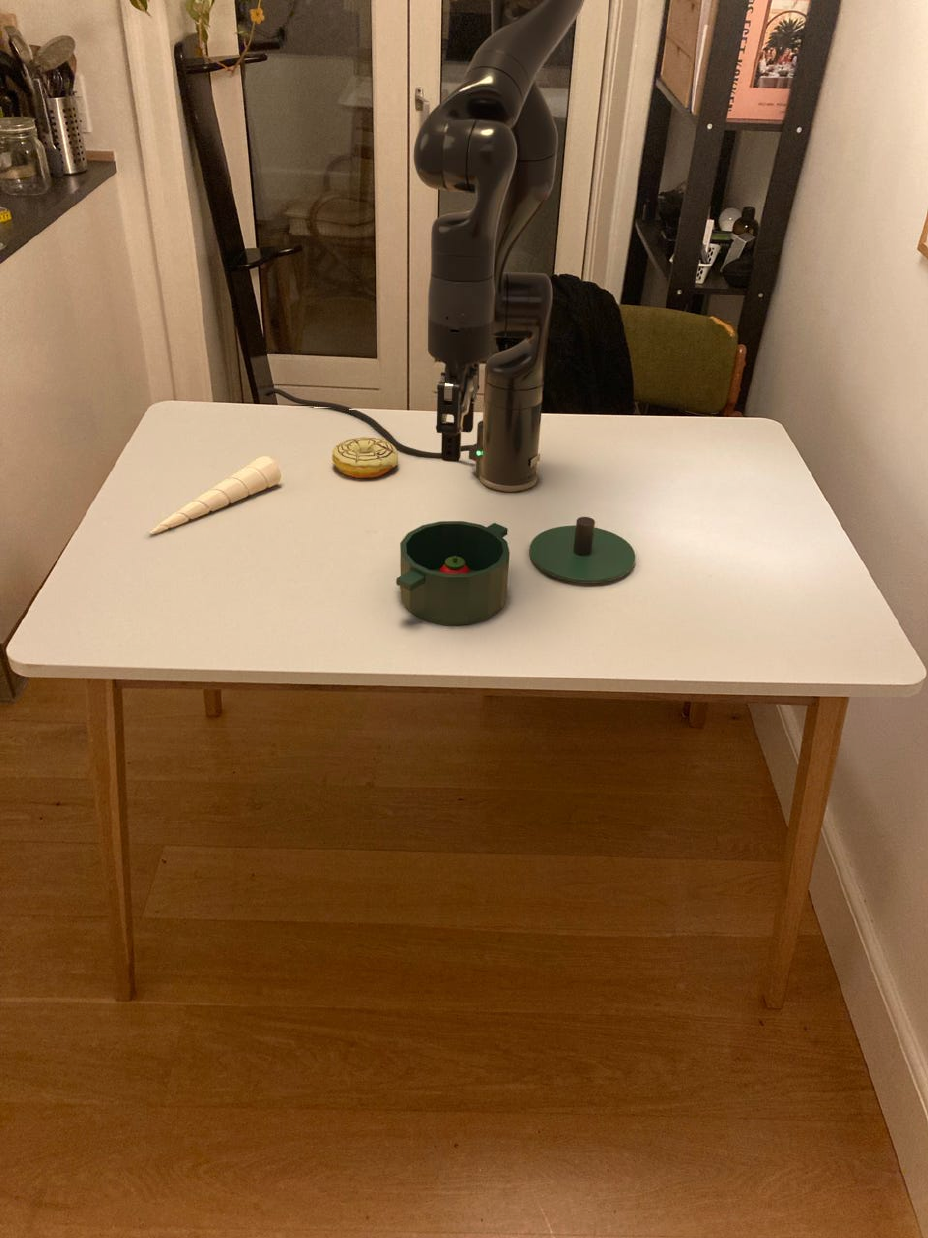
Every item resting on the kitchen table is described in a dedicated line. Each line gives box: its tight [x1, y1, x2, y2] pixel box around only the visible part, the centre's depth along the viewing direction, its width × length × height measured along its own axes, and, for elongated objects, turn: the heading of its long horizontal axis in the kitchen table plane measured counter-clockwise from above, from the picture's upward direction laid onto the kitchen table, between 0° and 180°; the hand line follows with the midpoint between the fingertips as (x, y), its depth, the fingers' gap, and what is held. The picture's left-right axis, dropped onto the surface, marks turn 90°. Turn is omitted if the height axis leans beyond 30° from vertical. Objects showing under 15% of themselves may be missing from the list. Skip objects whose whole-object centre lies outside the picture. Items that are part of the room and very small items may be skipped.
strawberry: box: [440, 556, 470, 574], centre depth 131 cm, size 4×4×6 cm
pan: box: [396, 520, 510, 626], centre depth 131 cm, size 14×20×8 cm
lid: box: [528, 516, 636, 584], centre depth 140 cm, size 15×15×6 cm
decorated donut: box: [331, 436, 399, 479], centre depth 163 cm, size 10×11×4 cm
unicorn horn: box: [149, 455, 282, 535], centre depth 150 cm, size 5×24×5 cm, turn 137°
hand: (457, 445), depth 121 cm, fingers open, 8 cm apart
